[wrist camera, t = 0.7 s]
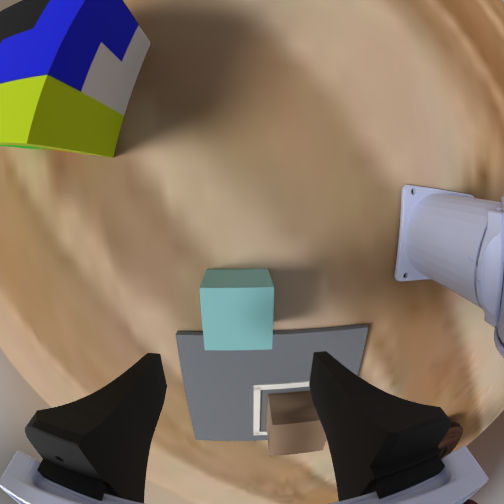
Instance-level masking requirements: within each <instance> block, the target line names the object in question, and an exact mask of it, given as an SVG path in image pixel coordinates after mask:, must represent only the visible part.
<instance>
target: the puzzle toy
mask: <svg viewBox="0 0 504 504" xmlns="http://www.w3.org/2000/svg"><path fill="white" fill-rule="evenodd" d="M150 44H151V43H150V41H149V40H148V38H147V37H146V35H145V33H144V32H143V30H142V29H141V27H140V26H139V24H138V23H137V21H136V20H135V18H134V17H133V15H132V14H131V12H130V11H129V9H128V8H127V6H126V5H125V3H124V2H123V0H22V1H20V2H18V3H16V4H14V5H12V6H10V7H8V8H6V9H4V10H2V11H1V12H0V146H8V147H19V148H29V149H42V150H54V151H64V152H73V153H82V154H90V155H98V156H105V157H112V158H113V157H114V153H115V148H116V144H117V140H118V136H119V133H120V129H121V125H122V122H123V119H124V115H125V112H126V109H127V105H128V102H129V99H130V96H131V93H132V90H133V87H134V85H135V82H136V79H137V76H138V74H139V71H140V69H141V66H142V63H143V61H144V58H145V56H146V54H147V51H148V49H149V47H150Z"/></svg>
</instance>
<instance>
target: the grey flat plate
mask: <svg viewBox="0 0 504 504" xmlns="http://www.w3.org/2000/svg"><path fill="white" fill-rule="evenodd" d="M367 332H368V326H367V325H366V324H361V325H351V326H341V327H329V328H317V329H302V330H283V331H273V339H272V349H268V350H205V348H204V337H203V332H192V331H177V333H176V339H177V346H178V353H179V359H180V365H181V371H182V376H183V382H184V387H185V393H186V398H187V403H188V407H189V412H190V417H191V421H192V426H193V430H194V434H195V438H196V440H213V441H254V440H268V437H267V429H266V423H267V404H268V394H274V393H288V392H300V391H310V386H309V382H310V375H311V368H312V361H313V354H314V352H322V351H326V352H328V353H329V354H330V355H331V356H333V357H334V358H335V359H336V360H338V361H339V362H340V363H341V364H342V365H344V366H345V367H346V368H347V369H349V370H350V371H351V372H353V373H354V374H356V375H357V376H358V372H359V368H360V364H361V360H362V355H363V351H364V346H365V342H366V337H367Z"/></svg>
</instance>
